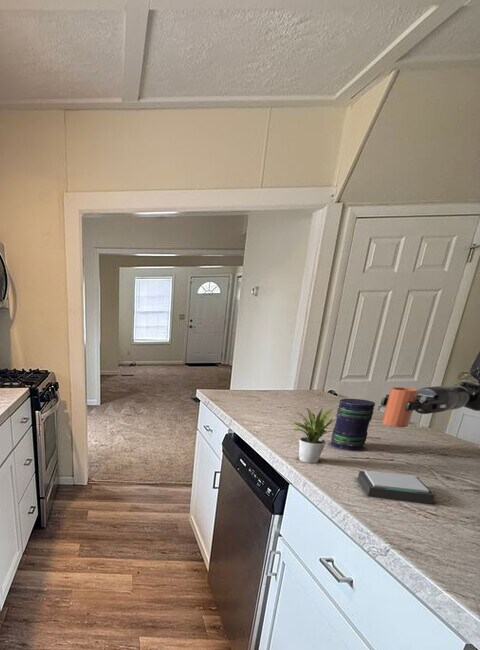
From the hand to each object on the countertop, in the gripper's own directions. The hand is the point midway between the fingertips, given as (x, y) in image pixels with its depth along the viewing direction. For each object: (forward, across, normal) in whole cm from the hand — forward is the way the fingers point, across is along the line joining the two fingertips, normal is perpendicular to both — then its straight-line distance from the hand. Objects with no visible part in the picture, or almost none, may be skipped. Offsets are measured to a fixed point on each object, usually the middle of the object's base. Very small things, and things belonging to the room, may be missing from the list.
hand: (394, 404), depth 111 cm
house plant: (+15, -11, +18) cm, 26 cm away
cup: (-2, 0, +6) cm, 6 cm away
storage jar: (-7, -16, +18) cm, 25 cm away
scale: (+14, +14, +18) cm, 27 cm away
